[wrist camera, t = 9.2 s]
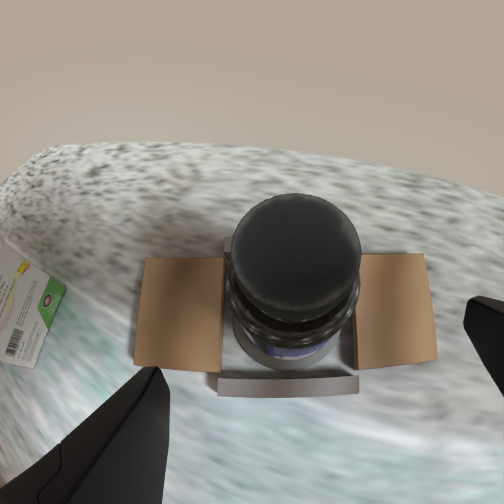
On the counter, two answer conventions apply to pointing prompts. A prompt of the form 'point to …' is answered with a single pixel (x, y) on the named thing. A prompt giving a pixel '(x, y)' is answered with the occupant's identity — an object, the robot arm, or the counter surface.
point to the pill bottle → (293, 274)
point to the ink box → (25, 308)
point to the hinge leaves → (210, 350)
